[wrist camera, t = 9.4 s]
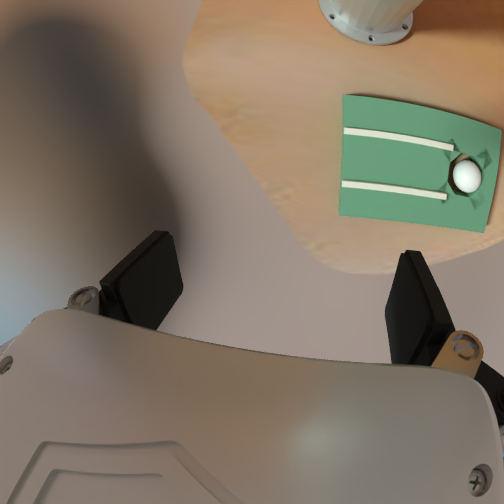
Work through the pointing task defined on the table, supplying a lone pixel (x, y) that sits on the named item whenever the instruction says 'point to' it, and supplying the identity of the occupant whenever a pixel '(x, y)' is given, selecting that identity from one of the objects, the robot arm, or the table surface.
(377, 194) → the putting mat
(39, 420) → the robot arm
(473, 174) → the ball
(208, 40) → the table surface
